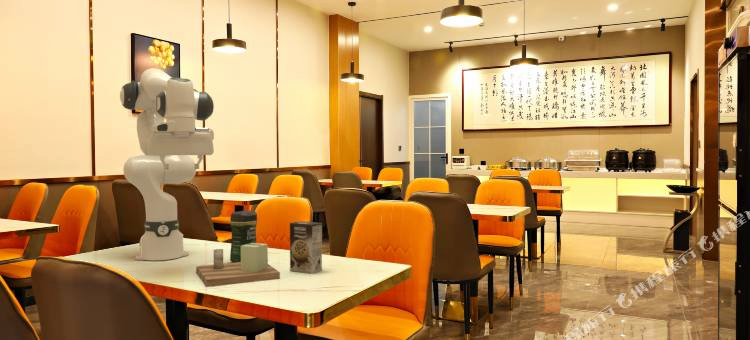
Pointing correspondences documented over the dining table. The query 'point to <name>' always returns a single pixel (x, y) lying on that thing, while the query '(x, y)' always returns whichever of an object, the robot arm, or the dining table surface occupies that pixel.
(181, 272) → the dining table surface
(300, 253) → the coffee box
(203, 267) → the post board
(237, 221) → the coffee jar
